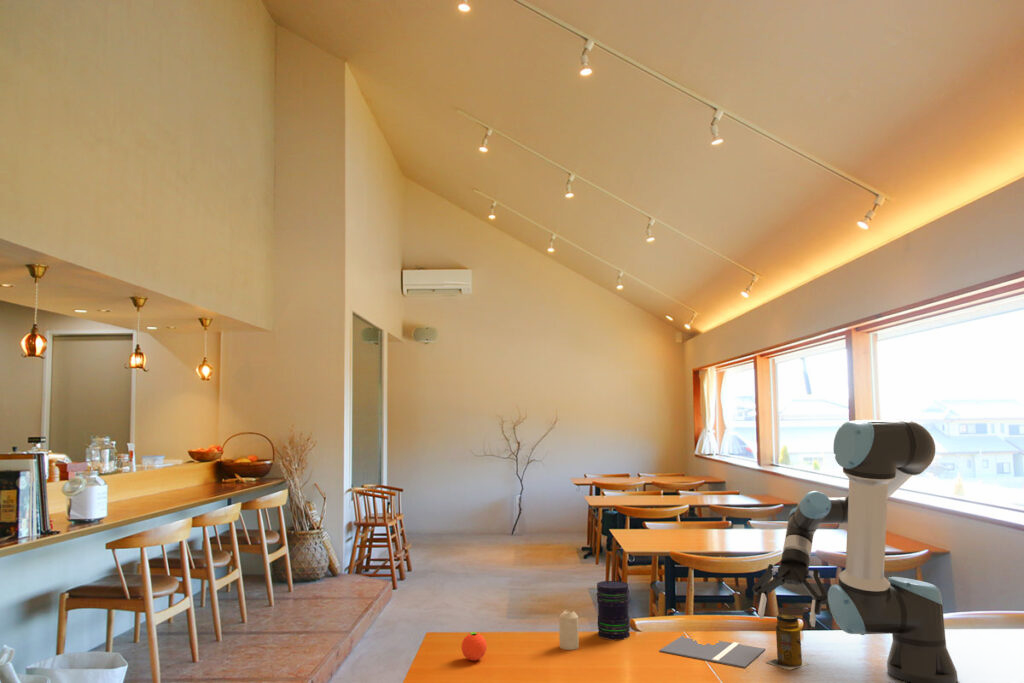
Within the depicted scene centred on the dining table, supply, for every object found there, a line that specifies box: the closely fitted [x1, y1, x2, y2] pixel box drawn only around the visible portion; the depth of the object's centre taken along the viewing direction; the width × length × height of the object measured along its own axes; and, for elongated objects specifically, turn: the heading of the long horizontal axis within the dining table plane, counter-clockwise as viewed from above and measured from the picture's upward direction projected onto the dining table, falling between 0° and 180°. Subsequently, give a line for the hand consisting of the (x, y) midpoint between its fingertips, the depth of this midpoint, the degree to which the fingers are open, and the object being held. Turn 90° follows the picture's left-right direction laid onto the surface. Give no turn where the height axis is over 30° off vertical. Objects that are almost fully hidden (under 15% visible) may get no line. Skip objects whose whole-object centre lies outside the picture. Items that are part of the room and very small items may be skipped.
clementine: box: [461, 631, 488, 662], centre depth 185 cm, size 8×7×7 cm
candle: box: [558, 609, 580, 651], centre depth 195 cm, size 6×6×10 cm
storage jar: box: [596, 580, 631, 641], centre depth 207 cm, size 10×10×15 cm
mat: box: [658, 635, 766, 669], centre depth 190 cm, size 24×18×1 cm
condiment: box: [765, 613, 810, 671], centre depth 180 cm, size 7×8×12 cm
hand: (785, 620), depth 184 cm, fingers open, 13 cm apart
